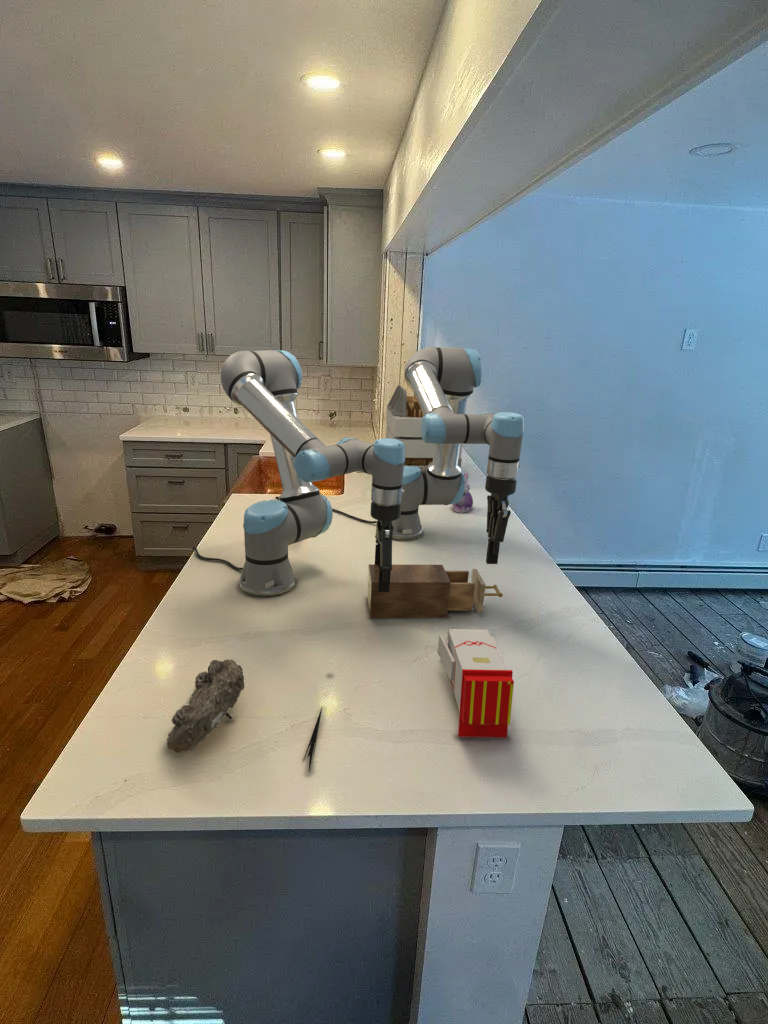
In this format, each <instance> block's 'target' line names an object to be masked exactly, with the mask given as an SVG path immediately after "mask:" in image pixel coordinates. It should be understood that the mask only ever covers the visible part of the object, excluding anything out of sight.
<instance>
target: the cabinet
mask: <svg viewBox="0 0 768 1024" xmlns="http://www.w3.org/2000/svg"><path fill="white" fill-rule="evenodd" d="M378 566H381V564H375V563H374V564H370V563H369V564H368V576H367V577H368V578H367V579H368V580H367V604H368V612H369V614H368V615H369V618H370V619H410V618H411V619H417V618H418V619H429V618H430V619H432V618H435V619H436V618H438V619H439V618H441V619H444V618H448V612H449V611H448V601H449V590H450V581H449V578H448V576H447V574H446V571H447V570H446V569H445V567H444V565H443V564H392V571H391V574H390V588H389V592H378V586H379V569H378Z"/></svg>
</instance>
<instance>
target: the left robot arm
mask: <svg viewBox="0 0 768 1024" xmlns="http://www.w3.org/2000/svg"><path fill="white" fill-rule="evenodd" d="M302 380H303V371H302V367H301V365H300V363H299V361H298V359H297V358H296V356H295V355H294V354H292V353H291V352H289V351H288V350H282V349H281V350H279V349H263V350H262V349H261V350H239V351H237V352H236V351H235V352H233V353H232V354H230V356H228V357H227V358H226V359H225V361H224V363H223V364H222V366H221V371H220V382H221V386H222V389H223V391H224V393H225V394H226V395H227V397H228V398H229V399H230V400H231V401H232V403H234V404H235V406H238V407H243V408H244V409H245V410H246V411H247V412H248V413H249V414H250V415H251V416H252V418H254V419H255V420H256V421H257V423H259V425H261V426H262V427H263V428H264V430H266V432H268V434H269V435H270V440H271V443H272V448H273V453H274V457H275V462H276V465H277V471H278V474H279V479H280V484H281V487H282V492H281V493H280V495H279V496H278V497H279V499H269V500H261V501H258V502H255V503H253V504H251V505H250V506H248V507H247V508H246V509H245V511H244V514H243V524H242V527H243V532H244V533H243V536H244V538H243V539H244V557H245V560H244V564H243V567H238V566H236V565H235V564H233V563H232V562H230V561H229V560H227V559H223V558H216V557H207V556H203V555H201V554H200V553H199V551H198V548H197V546H193V547H192V548H191V550H192V551H194V552H195V551H196V552H195V554H196V556H197V557H198V558H200V559H202V560H206V561H217V562H222V563H224V564H227V565H228V566H230V567H231V568H232V569H235V570H237V571H241V572H240V573H241V574H240V577H239V588H240V590H241V591H242V592H243V593H245V594H247V595H249V596H254V597H264V598H268V597H276V596H281V595H284V594H286V593H288V592H289V591H291V590H292V589H293V588H294V587H295V585H296V576H295V572H294V570H293V567H292V564H291V562H290V559H289V546H292V545H294V544H297V543H299V542H303V541H305V540H308V539H312V538H316V537H318V536H319V535H322V534H324V533H326V532H327V531H328V530H329V529H330V526H331V524H332V522H333V518H334V517H333V515H334V514H333V512H334V511H332V509H333V507H332V503H331V502H330V500H328V498H327V497H326V496H325V495H323V494H321V493H320V488H319V487H317V486H316V485H314V484H313V483H314V482H315V483H316V482H322V481H325V480H328V479H332V478H335V477H338V476H343V475H348V474H352V473H355V472H360V473H363V474H367V475H371V489H370V490H371V492H370V500H371V502H370V517H371V518H372V519H374V520H375V521H377V522H376V523H375V524H376V529H375V535H374V538H375V547H374V549H375V550H374V564H381V566H378V569H379V586H378V592H389V588H390V574H391V571H392V565H393V539H392V533H393V526H392V521H395V520H397V519H399V518H400V515H401V504H400V502H401V498H402V495H401V493H404V490H403V489H402V484H403V483H402V481H403V471H404V466H405V465H404V462H405V446H404V443H403V442H402V441H400V440H397V439H390V438H386V437H384V438H383V437H382V438H377V439H376V440H374V442H373V443H372V442H368V441H364V440H361V439H360V438H356V437H343V438H341V439H340V440H339V441H337V443H336V444H332V445H326V444H325V443H324V442H323V441H321V440H320V438H319V437H317V436H316V435H315V434H314V433H313V432H312V431H311V430H310V429H309V428H308V427H307V426H306V425H305V424H304V423H303V422H302V421H301V420H300V419H299V418H298V413H297V409H296V405H295V401H296V399H297V397H298V396H299V393H298V389H300V387H301V386H302Z"/></svg>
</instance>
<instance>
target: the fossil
mask: <svg viewBox="0 0 768 1024" xmlns="http://www.w3.org/2000/svg"><path fill="white" fill-rule="evenodd" d="M243 670H244V669H243V667H242V665H240V664H237V662H236V661H235V660H234V659H232V658H231V659H227V658H226V659H224V660H223V661H222V660H217V659H212V660H211V661H210V663H209V665H208V666H207V671H201V672H199V673H198V674H197V675H196V676H195V680H194V684H195V685H194V687H195V689H194V690H193V693H192V694H191V697H190V698H189V700H188V704H184V705H182V706H181V707H180V709H177V710H176V711H175V713H174V715H173V716H172V718H171V723H172V724H173V727H172V730H171V731H170V732H168V734H167V738H166V741H167V742H166V745H167V749H168V750H169V751H173V752H174V753H176V754H178V753H182V752H188V751H189V752H192V751H193V750H195V748H196V747H197V746H199V744H200V743H201V742H203V741H204V740H205V739H206V738H207V737H208V736H209V735H210V734H211V733H212V732H214V730H215V729H217V727H218V726H219V724H220V722H221V721H222V720H223V719H224V718H225V716H226V717H227V719H229V720H233V717H232V715H230V714H229V710H230V709H231V708H234V706H235V704H236V703H237V702H238V699H239V697H240V695H241V693H242V691H243V690H245V689H244V688H245V675H244V671H243Z"/></svg>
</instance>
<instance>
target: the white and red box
mask: <svg viewBox="0 0 768 1024" xmlns="http://www.w3.org/2000/svg"><path fill="white" fill-rule="evenodd" d="M446 640H447V643H446V641H445V639H444V636H443V635H442V634H439V637H438V646H437V656H438V657H439V659H440V661H441V663H442V666H443V668H444V670H445V672H446V674H447V677H448V679H449V681H450V684H451V687H452V690H453V693H454V697H455V701H456V705H457V708H458V711H459V714H458V715H459V716H458V730H457V731H458V732H457V737H458V738H508V731H509V726H510V725H511V717H512V707H513V697H514V696H513V695H514V684H515V680H514V679H513V673H514V671H513V670H512V669H508V667H507V665H506V662H505V661H504V659H503V658H502V655H501V653H500V651H499V649H498V647H497V643H496V639H495V637H494V635H493V634H491V632H490V631H489V629H467V628H466V629H465V628H463V629H461V628H460V629H459V628H448V630H447V639H446Z"/></svg>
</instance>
